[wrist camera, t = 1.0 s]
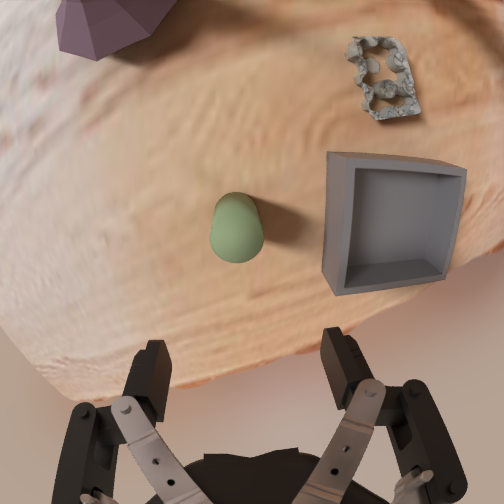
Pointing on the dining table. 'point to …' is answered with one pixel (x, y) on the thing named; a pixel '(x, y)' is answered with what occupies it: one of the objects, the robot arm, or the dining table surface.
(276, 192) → the dining table surface
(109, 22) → the flask
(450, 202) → the bin
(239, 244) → the green capsule
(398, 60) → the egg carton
